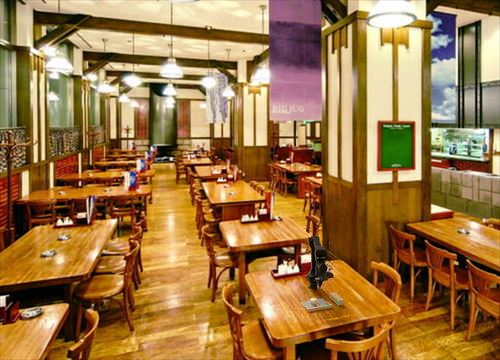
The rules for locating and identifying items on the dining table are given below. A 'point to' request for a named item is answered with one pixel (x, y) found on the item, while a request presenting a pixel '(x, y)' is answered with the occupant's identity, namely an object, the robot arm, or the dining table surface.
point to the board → (316, 305)
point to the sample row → (336, 298)
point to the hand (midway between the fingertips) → (319, 287)
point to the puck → (313, 301)
